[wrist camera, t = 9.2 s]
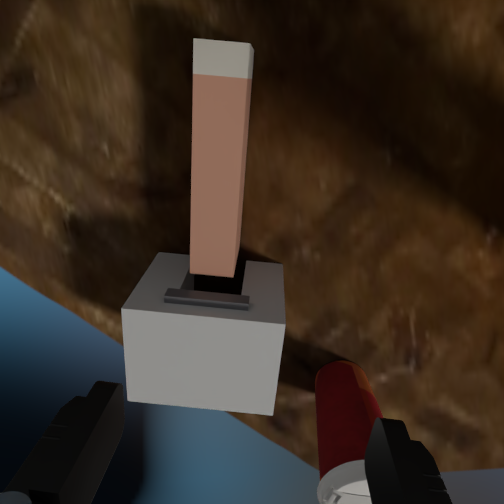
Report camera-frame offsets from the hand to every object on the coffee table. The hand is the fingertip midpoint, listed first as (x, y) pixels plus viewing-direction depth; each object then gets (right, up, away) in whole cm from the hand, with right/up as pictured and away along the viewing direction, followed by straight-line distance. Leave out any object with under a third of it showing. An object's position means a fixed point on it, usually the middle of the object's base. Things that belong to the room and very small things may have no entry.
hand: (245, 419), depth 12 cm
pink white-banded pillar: (-2, +13, +21) cm, 25 cm away
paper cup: (+10, -9, +30) cm, 33 cm away
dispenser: (-3, +1, +27) cm, 27 cm away
